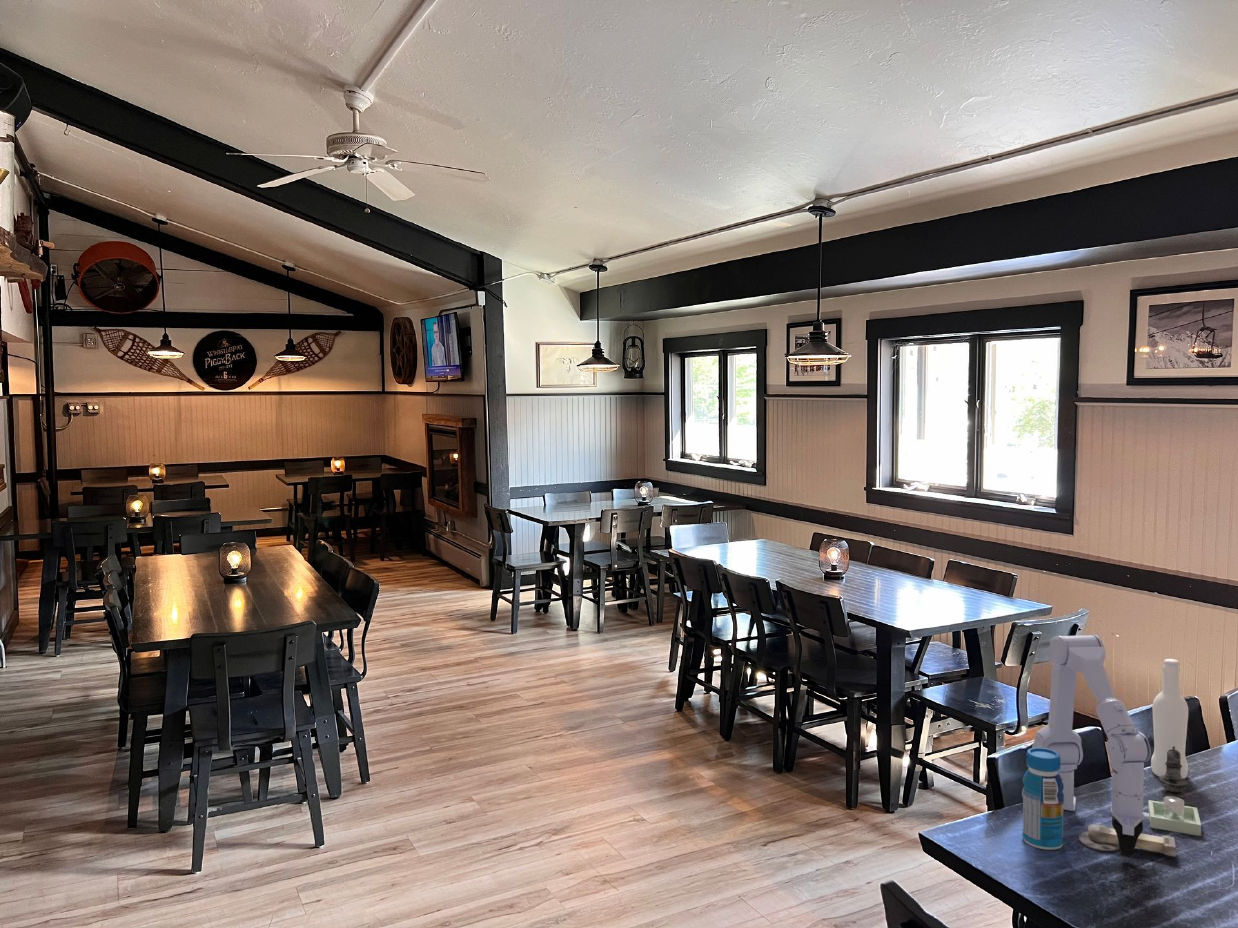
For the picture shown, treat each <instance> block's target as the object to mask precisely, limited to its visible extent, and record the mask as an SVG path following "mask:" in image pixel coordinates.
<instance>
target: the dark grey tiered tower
mask: <svg viewBox="0 0 1238 928" xmlns="http://www.w3.org/2000/svg"><path fill="white" fill-rule="evenodd" d="M1172 748H1173V749H1170V750H1168V751H1167V762H1165V765H1166V774H1165V775H1162V776H1160V777H1159V776H1158V777H1159V780H1160V784H1161V786H1162V787H1163V789H1161V790H1160V794H1161V795H1162V796H1164V797H1166V796H1173V797H1178V798H1180V799H1182V800H1184V799H1186V797H1187V796H1186V794H1185V793H1184V792H1183V791H1184V790H1185V788H1186V786H1187V785H1188V780H1187V779H1186V778H1185V779H1183V778H1182V777H1181V767H1182V765H1181V764H1180V752H1179V751H1177V750H1176V749H1175V747H1174V746H1173V747H1172Z"/></svg>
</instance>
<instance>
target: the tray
mask: <svg viewBox="0 0 1238 928" xmlns="http://www.w3.org/2000/svg"><path fill="white" fill-rule="evenodd" d="M1147 803H1148V805H1147V807H1148V808H1147V811H1148V812H1147V813H1149V815H1150V819H1149V820H1148V821H1149V825H1150V827H1149V828H1152V829H1158V830H1164V831H1169V832H1173V833H1174V832H1175V833H1179V834H1181V833H1182V834H1186V835H1191V836H1193V835H1194V836H1199V837H1202V824H1201V819H1200V815H1199V811H1198V807H1193V806H1189V805H1184V821H1182V820H1176V819H1170V818H1164V801H1156V800H1151V799H1148V801H1147Z"/></svg>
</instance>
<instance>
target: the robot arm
mask: <svg viewBox="0 0 1238 928" xmlns="http://www.w3.org/2000/svg"><path fill="white" fill-rule="evenodd" d="M1049 641H1050V642H1049V648H1048V649H1049V651H1048V663H1049V664H1052V665H1051V668H1052V669H1051V681H1050V695H1049V709H1048V723H1047V724H1046V725H1045V726H1043V727H1041V728H1040V729H1038V730H1037V731H1035V737H1034V741H1033V743H1032V746H1031V748H1046V749H1050V750H1053V751H1056V752H1057V753H1059V754H1060V758H1061V765H1060V770H1059V771H1058V773H1059V775H1060V776H1061V778H1062V780H1063V783H1064V789H1063V791H1062V792H1063V794H1064V797H1065V802H1064V804H1063V811H1064V810H1065V811H1070V812H1076V803H1077V802H1076V800H1077V798H1076V796H1074V795H1075V793H1074V792H1075V785H1074V784H1075V781H1074V779H1075V770H1078V766H1079V765H1080V764H1081V763H1082V761H1083V757H1084V751H1083V748H1082V747H1083V745H1082V738H1081V736H1080V735H1079V734H1078V732H1076V731H1075V730H1074V729H1073V722H1074V709H1075V695H1076V683H1077V681H1076V680H1077V672H1079V673H1081V675H1082V676H1083V678H1084V679H1085V681H1086V683H1087V685H1088V687H1089V688H1090V690H1091V692H1092V694H1093V696H1094V698H1095V699H1096V701H1097V703H1098V704H1097V706H1096V708H1095V712H1096V714H1097V716H1098V720H1099V721H1100V723H1101V726H1102V728H1103V731H1104V733H1105V735H1106V737H1107V741H1106V744H1105V745H1106V746H1105V747H1106V751H1107V755H1108V759H1109V766H1110V768H1112V769H1111V771H1112V772H1111V776H1112V777H1111V807H1110V814H1111V815H1112V816H1111V825H1112V828H1113V829H1115V831H1116V834H1117V837H1118V841H1119V847H1120V849H1119V851H1120V854H1121V855H1122V856H1126V857H1133V856H1134V853H1135V849H1136V847H1135V845H1136V842H1137V839H1138V837H1139V835H1140V834H1143V833H1142V832H1143V831H1144V826H1143V824H1144V823H1143V820H1147V821H1150V820H1149V819H1150V815H1149V812H1144V787H1145V786H1144V783H1145V782H1144V779H1145V777H1144V774H1145V773H1144V772H1145V771H1144V770H1145V763H1144V762H1148V761H1149V760H1150V759H1151V755H1152V754H1151V753H1152V750H1151V746H1150V745H1151V744H1150V743H1149V740H1148V738H1147V736H1146V734H1144V733H1142V731H1141V730H1140V728H1138V727H1137V728H1136V727H1135V725H1134V723H1133V720H1132V719H1131V716H1130V713H1129V712H1128V710H1127V707H1126V705H1125V703H1124V702H1123V701H1121V700H1119V699H1117V698H1116V697H1115V693H1114V690H1113V688H1112V685H1111V682H1110V680H1109V676H1108V674H1107V671H1106V669H1105V666H1104V663H1105V659H1106V649H1105V644H1104V642H1103V640H1102V639H1101V637H1099V636H1098V635H1097V634H1090V635H1089V634H1088V635H1084V634H1083V635H1055V636H1053V637H1052V638H1051V639H1049Z"/></svg>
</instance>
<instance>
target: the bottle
mask: <svg viewBox="0 0 1238 928" xmlns="http://www.w3.org/2000/svg"><path fill="white" fill-rule="evenodd" d="M1161 669H1162V685H1161V691H1160V692H1159V693H1157V695H1156V696H1155V697H1154V699H1153V700H1152V701H1153V702H1152V708H1151V709H1152V710H1151V711H1152V726H1153V728H1152V729H1153V730H1152V731H1153V745H1154V747H1153V748H1154V749H1153V754H1151V755H1152V756H1151V757H1150V759H1151V760H1150V763H1151V764H1150V768H1151V771H1152V773H1153V774H1154V775H1155V776H1157V777H1160V776H1162V775H1165V774H1166V765H1165V762H1167V751H1168V750H1170V749H1173V748H1172V747H1173V746H1174V747H1175V749H1176V750H1177V751H1179V752H1180V764H1181V765H1182V767H1181V777H1182V778H1183V779H1185V780H1186V778H1187V776H1188V772H1189V770H1188V769H1189V762H1188V761H1187V757H1186V742H1187V734H1188V733H1187V731H1188V721H1189V706H1188V703H1187V701H1186V700H1185V698H1184V697H1183V696H1182V695H1181V693H1180V676H1179V675H1180V674H1179V673H1180V662H1179V660H1177V659H1174V658H1166V659H1164V660H1163V665H1162V668H1161Z"/></svg>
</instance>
